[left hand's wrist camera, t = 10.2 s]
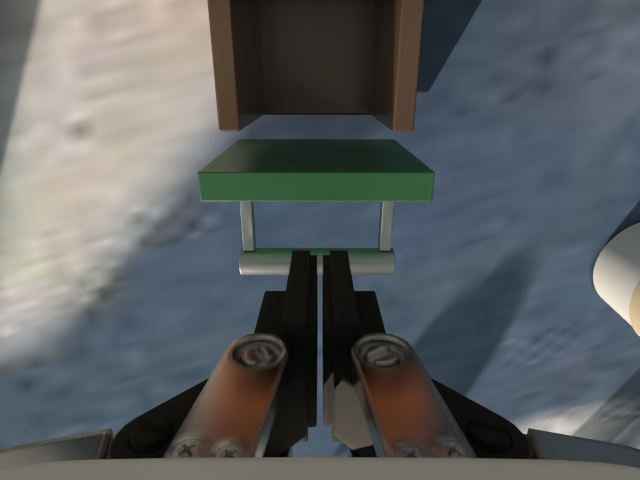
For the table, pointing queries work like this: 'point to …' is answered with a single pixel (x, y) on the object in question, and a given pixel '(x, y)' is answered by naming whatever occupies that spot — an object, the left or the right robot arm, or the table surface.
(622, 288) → the coffee cup
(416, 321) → the table surface
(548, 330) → the table surface
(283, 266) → the drawer
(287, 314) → the left robot arm
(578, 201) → the table surface
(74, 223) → the table surface
